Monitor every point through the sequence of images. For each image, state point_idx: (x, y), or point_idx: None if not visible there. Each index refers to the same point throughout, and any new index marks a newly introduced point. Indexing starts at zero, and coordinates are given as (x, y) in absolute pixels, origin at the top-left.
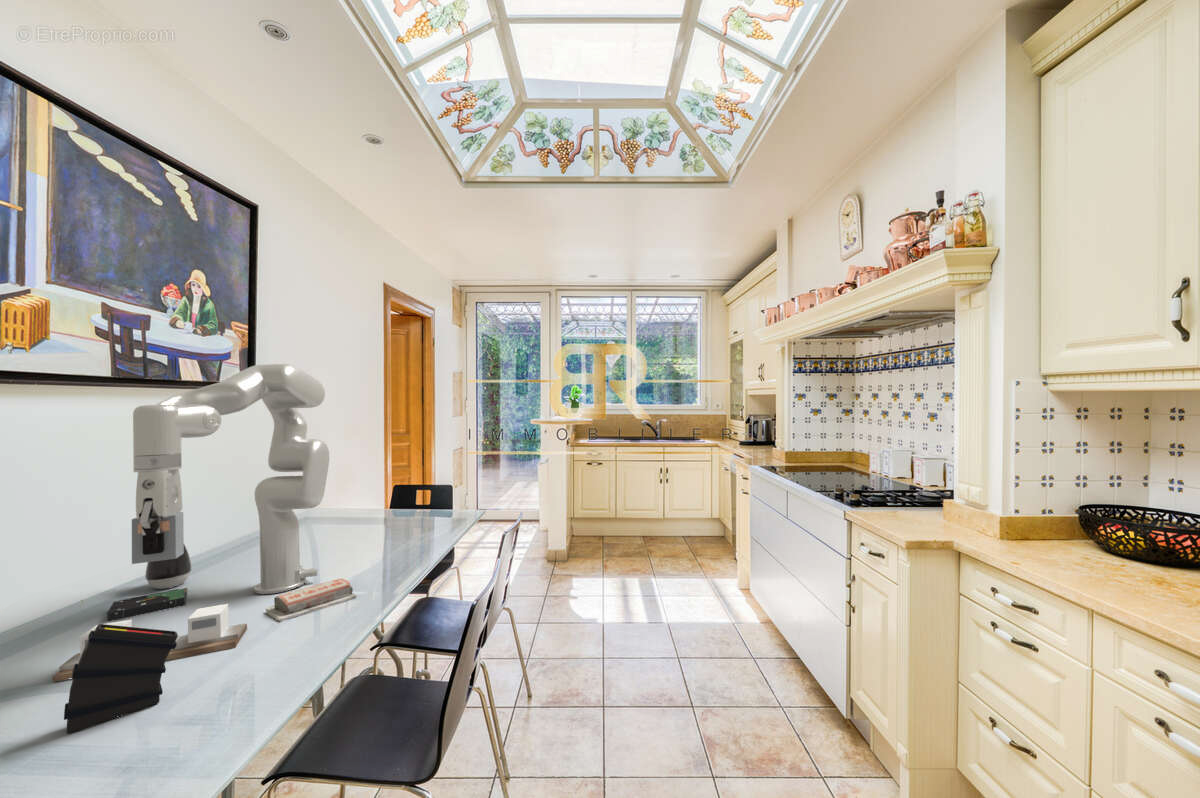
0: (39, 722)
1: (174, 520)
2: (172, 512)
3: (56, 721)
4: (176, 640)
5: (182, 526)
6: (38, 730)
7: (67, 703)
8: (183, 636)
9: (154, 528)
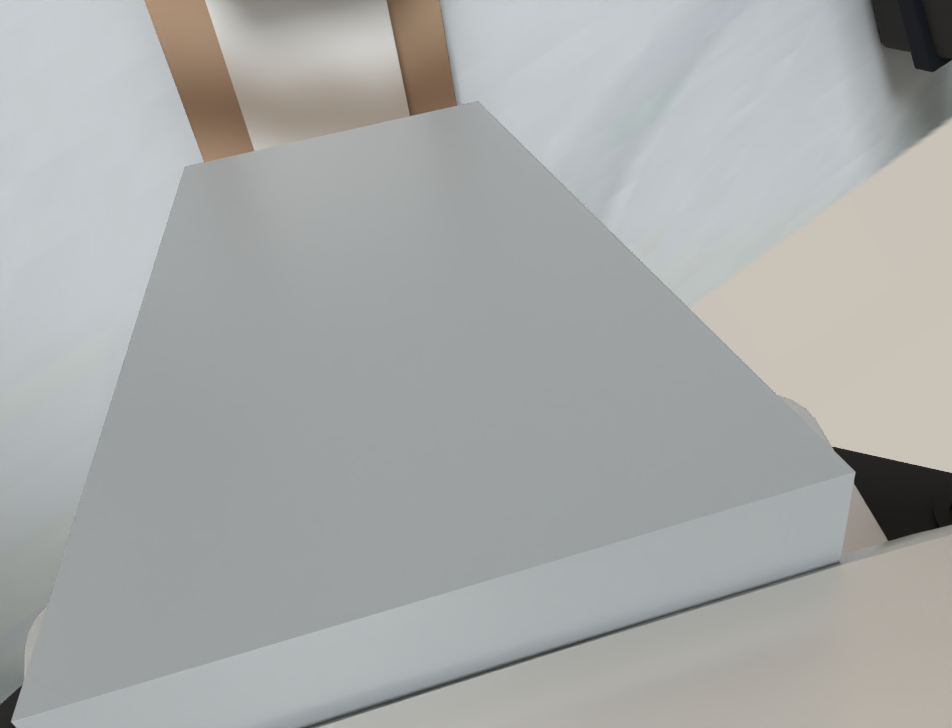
0: (790, 173)
1: (752, 389)
2: (805, 662)
3: (814, 119)
4: (304, 19)
5: (184, 364)
6: (846, 136)
7: (936, 64)
8: (250, 8)
9: (910, 480)
